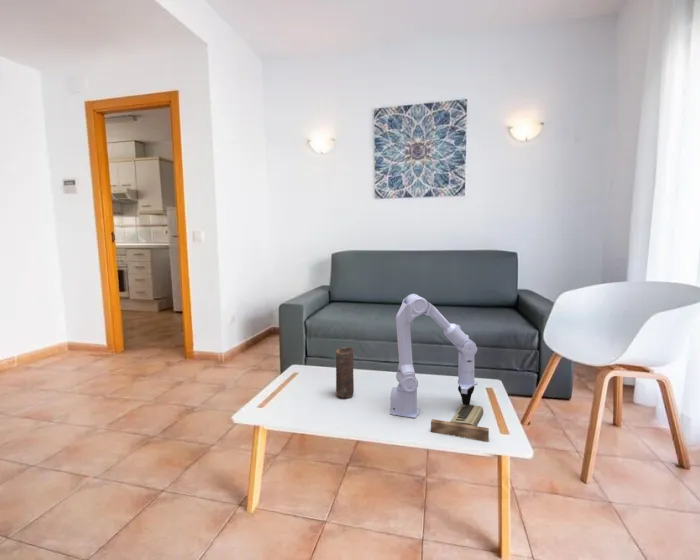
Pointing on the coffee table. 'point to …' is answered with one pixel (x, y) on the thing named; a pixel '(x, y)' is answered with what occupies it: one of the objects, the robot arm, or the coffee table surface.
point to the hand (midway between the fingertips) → (466, 405)
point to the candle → (344, 372)
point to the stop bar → (460, 430)
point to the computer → (468, 415)
